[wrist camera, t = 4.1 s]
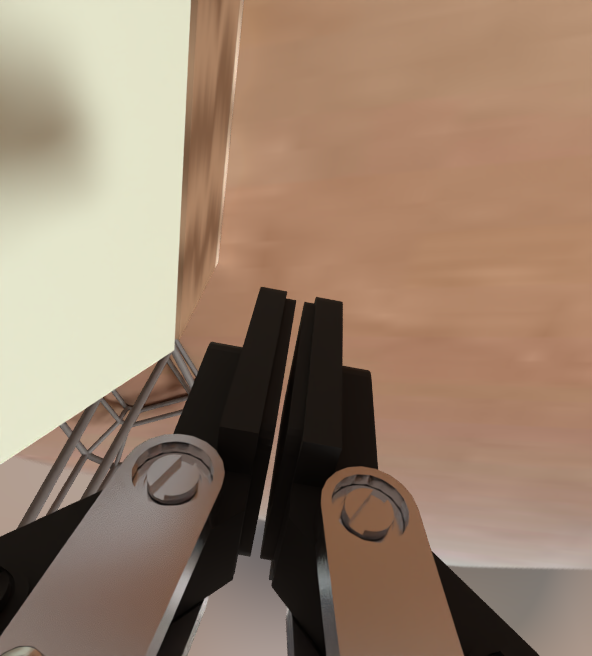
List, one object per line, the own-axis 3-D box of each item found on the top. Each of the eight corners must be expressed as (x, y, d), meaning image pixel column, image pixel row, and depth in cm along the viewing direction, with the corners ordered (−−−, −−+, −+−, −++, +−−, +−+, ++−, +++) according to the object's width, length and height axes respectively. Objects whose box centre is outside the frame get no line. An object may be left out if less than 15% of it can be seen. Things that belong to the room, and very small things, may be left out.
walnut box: (-73, -215, 24) (-300, -331, 15) (257, -143, 24) (209, -219, 16) (-1, 218, 36) (-107, 284, 28) (218, 262, 36) (179, 339, 28)
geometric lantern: (260, 416, 44) (78, 1201, 16) (111, 442, 49) (-248, 1101, 20) (184, 263, 36) (-467, 1294, 8) (13, 310, 41) (-823, 1093, 12)
